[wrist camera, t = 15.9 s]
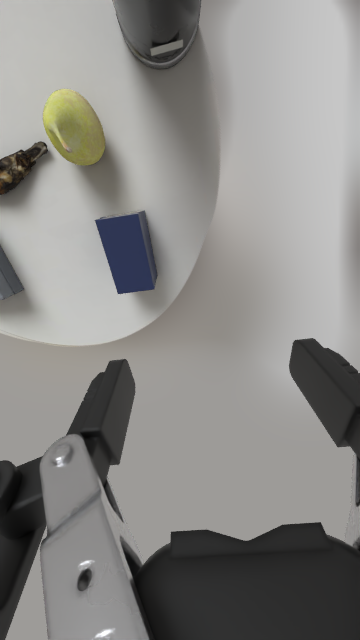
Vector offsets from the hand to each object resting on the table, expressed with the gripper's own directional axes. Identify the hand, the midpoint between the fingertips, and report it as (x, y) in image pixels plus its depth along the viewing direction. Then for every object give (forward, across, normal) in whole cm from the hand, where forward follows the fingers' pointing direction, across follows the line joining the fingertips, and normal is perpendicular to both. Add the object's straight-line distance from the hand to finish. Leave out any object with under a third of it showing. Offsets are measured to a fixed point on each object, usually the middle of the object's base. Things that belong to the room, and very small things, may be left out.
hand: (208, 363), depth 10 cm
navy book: (+26, +9, -1) cm, 27 cm away
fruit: (+30, +12, -16) cm, 36 cm away
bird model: (+30, +24, -14) cm, 41 cm away
